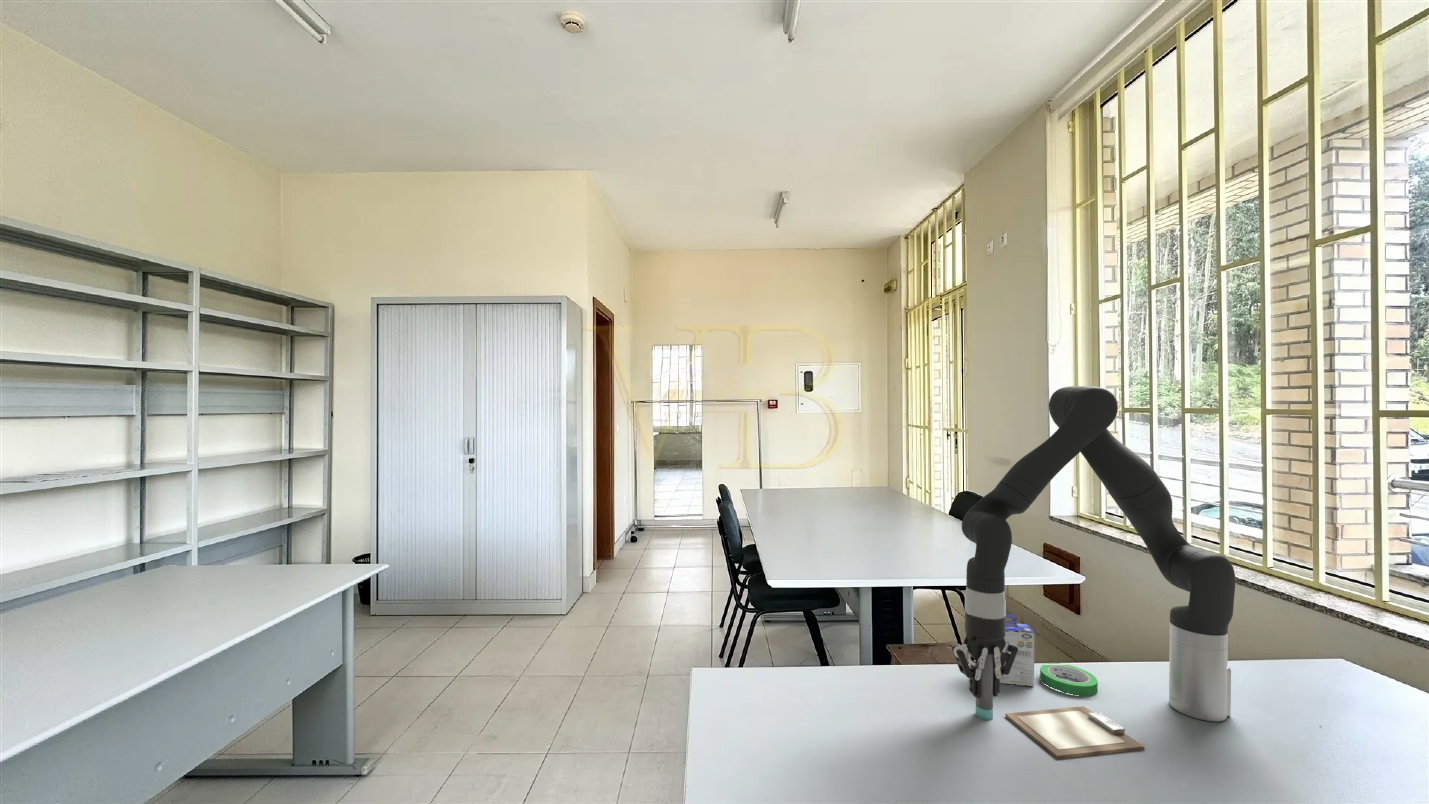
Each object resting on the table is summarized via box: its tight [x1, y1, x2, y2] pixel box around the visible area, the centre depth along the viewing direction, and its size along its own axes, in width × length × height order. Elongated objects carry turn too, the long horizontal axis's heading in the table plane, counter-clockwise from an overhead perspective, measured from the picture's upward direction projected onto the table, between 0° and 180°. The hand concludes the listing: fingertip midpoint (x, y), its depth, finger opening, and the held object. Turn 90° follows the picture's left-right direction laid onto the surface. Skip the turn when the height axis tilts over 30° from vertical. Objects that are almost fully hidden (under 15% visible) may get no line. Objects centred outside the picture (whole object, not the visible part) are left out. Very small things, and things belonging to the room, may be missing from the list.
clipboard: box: [1004, 705, 1145, 760], centre depth 112 cm, size 18×14×2 cm
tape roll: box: [1039, 662, 1099, 697], centre depth 131 cm, size 11×11×3 cm
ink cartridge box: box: [1000, 613, 1035, 687], centre depth 133 cm, size 10×6×14 cm, turn 78°
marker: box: [975, 654, 994, 721], centre depth 118 cm, size 3×3×13 cm
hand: (984, 695), depth 118 cm, fingers closed on marker, 3 cm apart
